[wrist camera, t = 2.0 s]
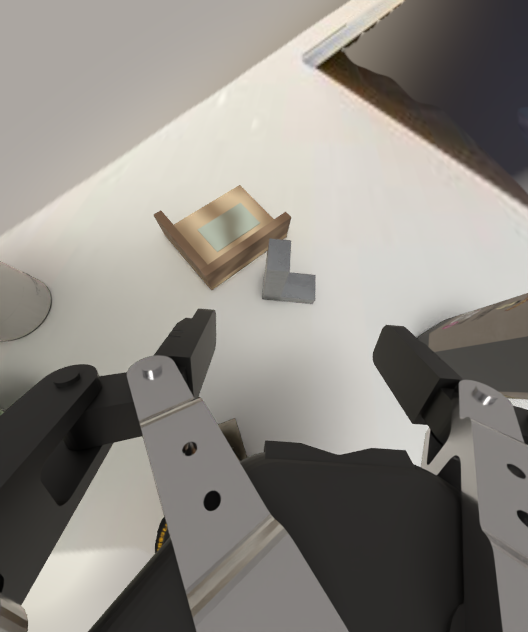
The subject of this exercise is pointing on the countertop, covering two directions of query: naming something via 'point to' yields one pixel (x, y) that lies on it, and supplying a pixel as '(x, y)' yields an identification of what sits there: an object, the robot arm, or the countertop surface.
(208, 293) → the countertop surface
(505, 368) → the liquor
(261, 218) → the tray
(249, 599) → the robot arm
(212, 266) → the walls
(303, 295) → the bracket
